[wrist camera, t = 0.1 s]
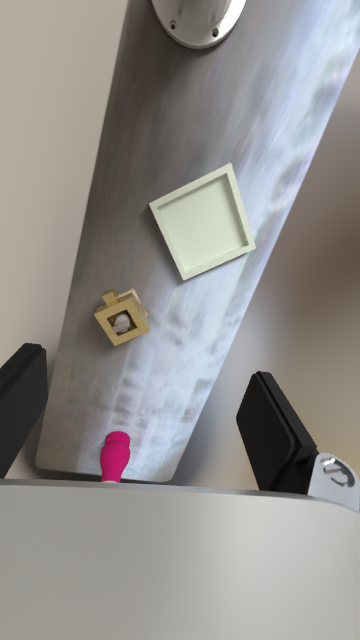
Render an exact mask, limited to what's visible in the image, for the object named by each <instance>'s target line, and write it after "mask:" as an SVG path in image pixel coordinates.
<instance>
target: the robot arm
mask: <svg viewBox="0 0 360 640" xmlns="http://www.w3.org/2000/svg"><path fill="white" fill-rule="evenodd" d="M151 2H152V5H153V8H154V11H155V14H156V16H157V18H158V20H159V21H160V23H161V25H162V27H163V28H164V29H165V31H166V32H167V33H168V34H169V35H170V36H171V37H172V38H173V39H174V40H175V41H176V42H178V43H180V44H181V45H183V46H185V47H188V48H191V49H204V48H209V47H212V46H214V45H216V44H218V43H219V42H220V41H222V40H223V39H224V38H225V37H226V36H227V35H228V34H229V33H230V32H231V30H232V29H233V28H234V26H235V24H236V23H237V21H238V19H239V17H240V15H241V12H242V10H243V8H244V5H245V2H246V0H151ZM171 27H174V28H175V29H171ZM213 35H215V36H216V37H213ZM46 364H47V363H46V350H45V349H44V348H42V346H41V345H39V344H32V343H25V344H23V345H22V346H21V348H19V349H18V351H17V352H16V353H15V354H14V355H13V356H12V357H11V358H10V359H9V360H8V361H7V362H6V363H5V364H4V365H3V366H2V367H1V368H0V640H360V482H359V479H358V477H357V475H356V473H355V472H354V471H353V470H352V468H351V467H350V466H349V465H348V464H347V463H345V462H344V461H343V460H341V459H340V458H338V457H336V456H334V455H332V454H328V453H321V454H319V452H318V451H317V449H316V447H317V446H316V444H315V443H314V441H313V439H312V438H311V436H310V435H309V433H308V432H307V430H306V428H305V427H304V425H303V424H302V422H301V420H300V419H299V417H298V416H297V414H296V412H295V411H294V409H293V408H292V406H291V405H290V403H289V401H288V400H287V398H286V397H285V395H284V394H283V392H282V390H281V389H280V387H279V386H278V384H277V382H276V381H275V379H274V378H273V376H272V375H271V373H268V372H261V371H257V372H256V374H253V375H252V377H251V379H250V382H249V385H248V387H247V389H246V392H245V395H244V398H243V400H242V403H241V405H240V408H239V411H238V413H237V416H236V421H237V425H238V428H239V431H240V434H241V437H242V440H243V443H244V445H245V449H246V452H247V455H248V457H249V460H250V464H251V466H252V470H253V472H254V475H255V478H256V481H257V484H258V487H259V490H260V491H257V490H240V489H223V488H205V487H187V486H168V485H167V486H166V485H148V484H128V483H107V482H84V481H63V480H37V479H4V477H5V476H6V474H7V472H8V470H9V469H10V467H11V465H12V463H13V462H14V460H15V458H16V456H17V455H18V453H19V451H20V449H21V448H22V446H23V444H24V442H25V441H26V439H27V437H28V435H29V434H30V432H31V430H32V428H33V427H34V425H35V423H36V421H37V419H38V418H39V416H40V414H41V413H42V411H43V409H44V407H45V406H46V403H47V400H48V389H47V365H46Z"/></svg>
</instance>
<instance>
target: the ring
mask: <svg viewBox="0 0 360 640" xmlns="http://www.w3.org/2000/svg"><path fill="white" fill-rule="evenodd" d="M102 298H103V300H104V301H105V303H106V304H105V305H102V306H100V307H98V308H97V310H96V311H95V313H94V316H95V317H96V319H97V320H98V322H99V323H100V325H101V326H102V328H103V329H104V331H105V332H106V334H107V335H108V337H109V338H110V340H111V341H112V343H113V344H114V346H116V345H119V344H121V343H123V342H126V341H128V340H130V339H133V338H135V337H137V336H140V335H142V334H144V333H147V332H149V331H150V323H149V321H148V319H147V317H146V316H145V314H144V312H143V310H142V308H141V307H140V305H139V303H138V301H137V300H136V298H135V296H134V294H133V292H131V293H129V294H127V295H124V296H122V297H119V295H118V294H117V292H116V290H115V289H114V288H113V289H111V290H108V291H106V292H104V293H103V295H102ZM126 309H127V310H128V312H129V314H130V315H131V317H132V319H133V320H134V322H135V323H132V324H130V327H128V330H127V331H125V332H116V333H114V332H113V330H112V329H111V328H112V327H114V323H115V319H114V318H113V316H112V315H114V314H117V313H119V312H121V311H123V310H126Z"/></svg>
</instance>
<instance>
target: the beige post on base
mask: <svg viewBox="0 0 360 640" xmlns="http://www.w3.org/2000/svg"><path fill="white" fill-rule="evenodd" d="M131 292H133V294H134V296H135V298H136V300H137V301H138V303H139V305H140V307H141V308H142V310H143V312H144V314H145V316H148V314H147V312H146V310H145V308H144V306H143V305H142V303H141V301H140V299H139V297H138V296H137V294H136V292H135V290H134V288H133V289H131V290H129V291H127V292H124V293H122V294H120V295H119V297H122V296H124V295H127V294H129V293H131ZM112 316H113V318H114V319H115V323H114V327H112V328H111V329H112V330H113V332H114V333H116V332H125V331H127V330H128V327H130V324H132V323H135V322H134V320H133V319H132V317H131V315H130V314H129V312H128V310H127V309H126V310H123V311H121V312H119V313H117V314H114V315H112Z"/></svg>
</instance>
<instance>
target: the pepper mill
mask: <svg viewBox="0 0 360 640" xmlns="http://www.w3.org/2000/svg"><path fill="white" fill-rule="evenodd" d="M129 445H130V437H129V436H128V435H127V434H126V433H124V432H121V431H116V432H112V433H110V434H109V435H108V436H107V437H106V441H105V446H104V447H103V448H102V450H101V454H100V464H101V469H102V479H101V482H107V483H120V478H121V474H122V472H123V470H124V469H125V467H126V465H127V464H128V461H129V458H130V449H129Z"/></svg>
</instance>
